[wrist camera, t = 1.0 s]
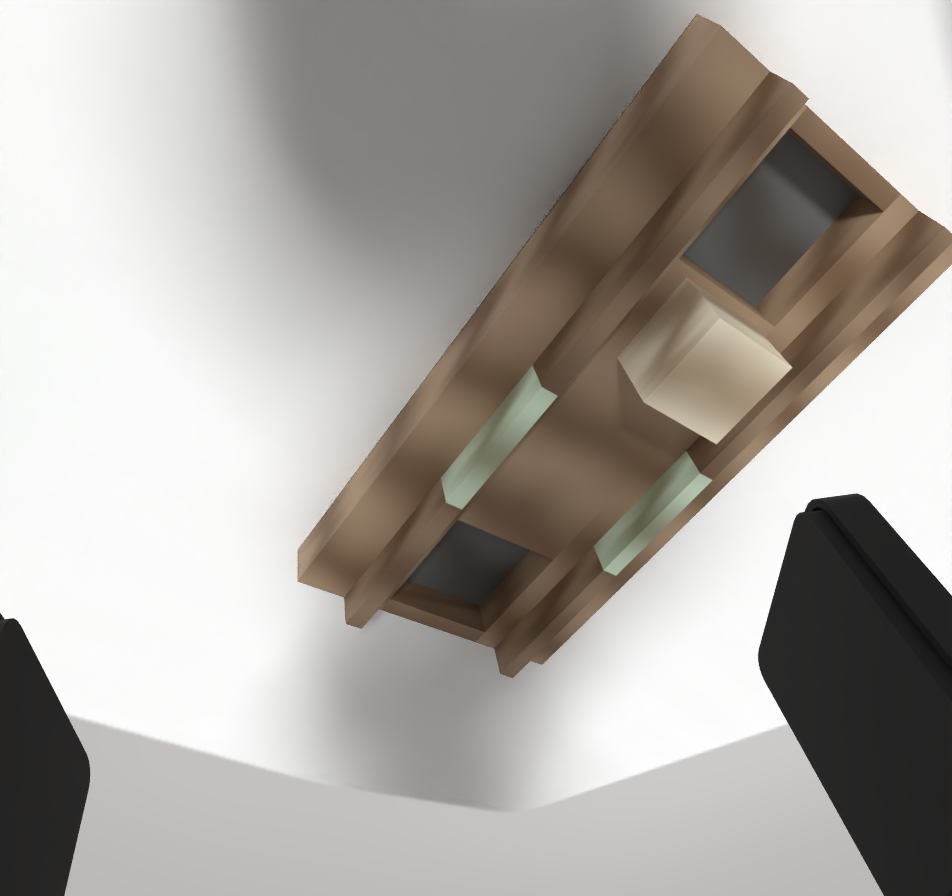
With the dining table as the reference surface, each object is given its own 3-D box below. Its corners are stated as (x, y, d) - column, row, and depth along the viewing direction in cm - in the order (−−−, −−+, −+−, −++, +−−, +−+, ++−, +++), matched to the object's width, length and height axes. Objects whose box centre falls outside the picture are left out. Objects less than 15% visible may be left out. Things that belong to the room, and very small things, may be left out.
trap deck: (696, 13, 34) (742, 36, 31) (932, 232, 42) (990, 270, 39) (297, 550, 48) (297, 608, 45) (533, 635, 56) (549, 689, 53)
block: (686, 277, 39) (720, 318, 35) (754, 325, 41) (792, 367, 38) (617, 357, 41) (643, 402, 38) (686, 398, 43) (716, 444, 40)
